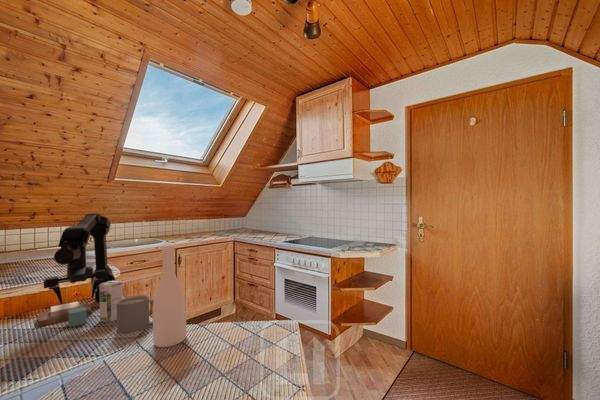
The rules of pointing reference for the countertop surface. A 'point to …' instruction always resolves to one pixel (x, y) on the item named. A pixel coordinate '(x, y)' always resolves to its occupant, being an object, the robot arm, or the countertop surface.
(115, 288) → the syrup box
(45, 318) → the stacking base
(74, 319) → the teal cube
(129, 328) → the coffee mug
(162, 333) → the wine bottle
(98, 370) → the countertop surface
